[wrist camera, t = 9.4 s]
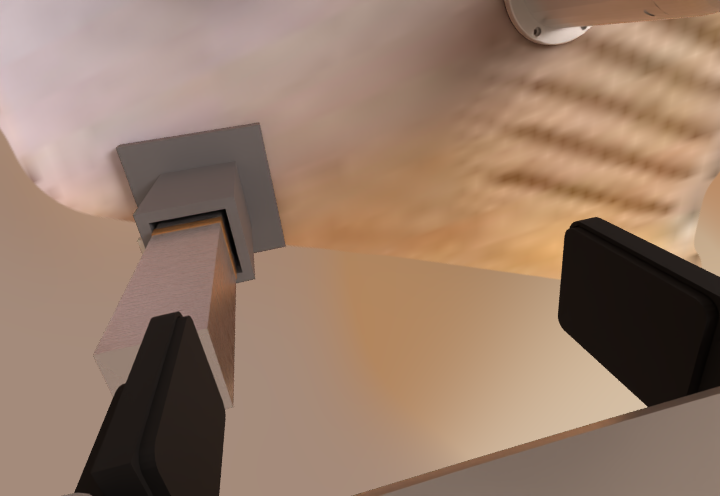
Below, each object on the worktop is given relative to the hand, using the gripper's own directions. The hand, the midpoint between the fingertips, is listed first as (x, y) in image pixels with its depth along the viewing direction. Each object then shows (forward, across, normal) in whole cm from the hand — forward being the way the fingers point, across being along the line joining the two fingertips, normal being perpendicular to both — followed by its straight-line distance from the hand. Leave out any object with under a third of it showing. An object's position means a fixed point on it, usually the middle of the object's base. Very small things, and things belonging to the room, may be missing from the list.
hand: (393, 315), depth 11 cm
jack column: (+28, +9, +7) cm, 30 cm away
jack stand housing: (+36, +10, +7) cm, 38 cm away
